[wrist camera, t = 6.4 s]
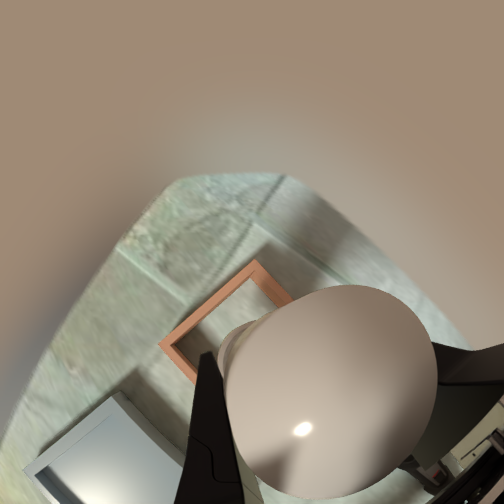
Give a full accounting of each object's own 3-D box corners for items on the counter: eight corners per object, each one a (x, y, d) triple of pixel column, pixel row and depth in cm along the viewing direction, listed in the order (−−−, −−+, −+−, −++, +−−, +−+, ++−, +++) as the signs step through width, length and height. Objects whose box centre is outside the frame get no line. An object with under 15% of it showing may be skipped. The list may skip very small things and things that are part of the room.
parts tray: (244, 501, 17) (247, 515, 15) (141, 557, 13) (137, 570, 11) (121, 390, 19) (110, 395, 17) (34, 462, 15) (22, 469, 13)
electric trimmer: (438, 505, 18) (453, 512, 15) (384, 457, 20) (402, 467, 17) (457, 482, 19) (473, 488, 16) (409, 428, 21) (428, 435, 18)
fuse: (307, 359, 16) (462, 376, 5) (254, 410, 15) (336, 526, 4) (257, 307, 17) (349, 238, 5) (201, 358, 16) (175, 405, 4)
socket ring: (327, 348, 22) (339, 348, 20) (245, 427, 20) (249, 436, 17) (250, 267, 24) (254, 258, 21) (163, 343, 21) (157, 344, 18)
